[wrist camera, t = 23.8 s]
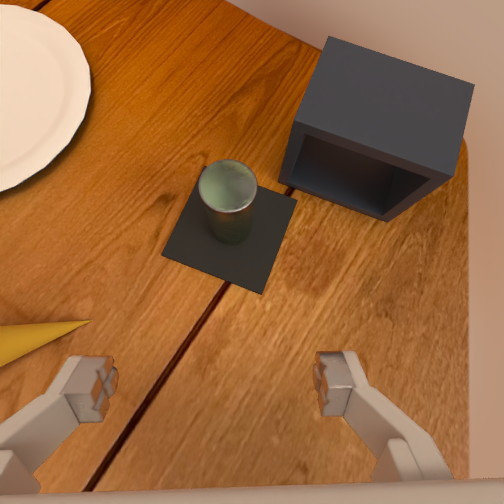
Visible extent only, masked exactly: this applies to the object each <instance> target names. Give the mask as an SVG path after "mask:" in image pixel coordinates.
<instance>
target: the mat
mask: <svg viewBox="0 0 504 504" xmlns="http://www.w3.org/2000/svg"><path fill="white" fill-rule="evenodd" d="M206 168H207V166H204V168H203V170H202V172H201V174H202V173H203V171H204V170H205V169H206ZM201 174H200V176H199V178H198V180H197V182H196V185H195V187H194V189H193V191H192V193H191V195H190V197H189V199H188V201H187V203H186V205H185V207H184V209H183V211H182V213H181V215H180V217H179V219H178V221H177V224H176V226H175V228H174V230H173V232H172V234H171V236H170V238H169V240H168V242H167V244H166V246H165V248H164V250H163V252H162V254H161V255H162V256H165V257H167V258H170V259H172V260H175V261H177V262H180V263H182V264H185V265H187V266H190V267H192V268H195V269H198V270H200V271H203V272H205V273H208V274H210V275H213V276H215V277H218V278H220V279H223V280H225V281H228V282H231V283H233V284H236V285H238V286H241V287H243V288H246V289H248V290H251V291H253V292H256V293H258V294H261V295H262V293H263V290H264V287H265V285H266V282H267V279H268V277H269V274H270V271H271V269H272V266H273V264H274V261H275V258H276V256H277V253H278V250H279V248H280V245H281V242H282V240H283V237H284V234H285V232H286V229H287V227H288V224H289V221H290V219H291V216H292V213H293V211H294V208H295V205H296V203H297V200H295V199H293V198H290V197H287V196H285V195H282V194H279V193H277V192H274V191H271V190H269V189H266V188H263V187H260V186H258V185H257V195H256V198H255V204H254V213H253V222H252V230H251V233H250V235H249V237H248V238H247V239H246V240H245V241H244V242H242V243H240V244H237V245H226V244H224V243H222V242H220V241H219V240H217V238H216V237H215V236H214V234H213V231H212V228H211V225H210V222H209V218H208V215H207V212H206V209H205V205H204V203H203V201H202V199H201V197H200V193H199V187H198V185H199V179H200V177H201Z"/></svg>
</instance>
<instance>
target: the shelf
mask: <svg viewBox="0 0 504 504" xmlns="http://www.w3.org/2000/svg"><path fill="white" fill-rule="evenodd" d="M474 86H475V85H474V84H472V83H469V82H466V81H463V80H460V79H457V78H454V77H451V76H448V75H445V74H442V73H439V72H436V71H433V70H429V69H427V68H423V67H420V66H417V65H415V64H412V63H409V62H406V61H403V60H400V59H397V58H394V57H390V56H387V55H385V54H382V53H379V52H376V51H373V50H370V49H367V48H364V47H361V46H358V45H354V44H352V43H349V42H346V41H343V40H340V39H337V38H334V37H331V36H328V39H327V41H326V44H325V46H324V48H323V51H322V53H321V55H320V58H319V60H318V63H317V65H316V68H315V70H314V72H313V75H312V77H311V80H310V82H309V84H308V87H307V89H306V92H305V94H304V97H303V99H302V101H301V104H300V106H299V109H298V111H297V113H296V116H295V118H294V121H293V125H292V129H291V133H290V137H289V141H288V145H287V149H286V152H285V156H284V160H283V164H282V168H281V172H280V176H279V180H278V182H279V183H282V184H284V185H287V186H290V187H292V188H295V189H298V190H301V191H303V192H306V193H309V194H311V195H314V196H317V197H320V198H322V199H325V200H328V201H330V202H333V203H336V204H339V205H341V206H344V207H347V208H349V209H352V210H355V211H358V212H360V213H363V214H366V215H368V216H371V217H374V218H376V219H379V220H382V221H385V222H389V221H390V220H392V219H393V218H395V217H396V216H398V215H399V214H401V213H402V212H403V211H405V210H406V209H408V208H409V207H411V206H412V205H413V204H415V203H416V202H418V201H419V200H421V199H422V198H423V197H425V196H426V195H428V194H429V193H431V192H432V191H434V190H435V189H436V188H438V187H439V186H441V185H442V184H443V183H445V182H447V181H448V180H449V179H451V178H452V177H454V173H455V169H456V165H457V160H458V156H459V151H460V147H461V143H462V138H463V134H464V129H465V125H466V120H467V116H468V112H469V107H470V103H471V98H472V94H473V89H474Z"/></svg>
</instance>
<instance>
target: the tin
mask: <svg viewBox="0 0 504 504" xmlns="http://www.w3.org/2000/svg"><path fill="white" fill-rule="evenodd" d="M198 187H199V193H200V197H201V199H202V201H203V203H204V205H205V209H206V212H207V215H208V218H209V222H210V225H211V228H212V231H213V234H214V236H215V237H216V238H217V240H219V241H220V242H222V243H224V244H226V245H237V244H240V243H242V242H244V241H245V240H246V239H247V238H248V237H249V235H250V233H251V230H252V222H253V213H254V204H255V198H256V195H257V180H256V177H255V175H254V173H253V171H252V170H251V169H250V168H249V167H248V166H247V165H245V164H244V163H242V162H240V161H237V160H232V159H224V160H219V161H216V162H214V163H212V164H210V165H209V166H208V167H207V168H206V169H205V170H204V171H203V173H202V174H201V177H200V179H199V185H198Z"/></svg>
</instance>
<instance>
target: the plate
mask: <svg viewBox="0 0 504 504" xmlns="http://www.w3.org/2000/svg"><path fill="white" fill-rule="evenodd" d="M90 96H91V78H90V67H89V65H88V63H87V60H86V58H85V56H84V53H83V51H82V48H81V46H80V45H79V43H78V42H77V41H76V40H75V39H74V38H73V37H72V36H71V34H70V33H69V32H68V31H67V30H66V29H65V28H64V27H63V26H61V25H60V24H58V23H56V22H55V21H53V20H52V19H50V18H48V17H47V16H45V15H44V14H41V13H38V12H35V11H32V10H29V9H25V8H22V7H19V6H13V5H3V4H0V193H1V192H3V191H6V190H9V189H11V188H14V187H16V186H18V185H20V184H21V183H23V182H24V181H26V180H27V179H29V178H31V177H32V176H34V175H35V174H37V173H38V172H40V171H42V170H43V169H45V168H46V167H47V166H48V165H49V164H50V163H51V162H52V161H53V160H54V159H55V158H56V157H57V156H58V155H59V154H60V153H61V152H62V151H63V150H64V149H65V148H66V147H67V146H68V145H69V144H70V142H71V141H72V139H73V137H74V136H75V134H76V132H77V130H78V129H79V127H80V125H81V124H82V122H83V120H84V119H85V115H86V111H87V108H88V104H89V100H90Z"/></svg>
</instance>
